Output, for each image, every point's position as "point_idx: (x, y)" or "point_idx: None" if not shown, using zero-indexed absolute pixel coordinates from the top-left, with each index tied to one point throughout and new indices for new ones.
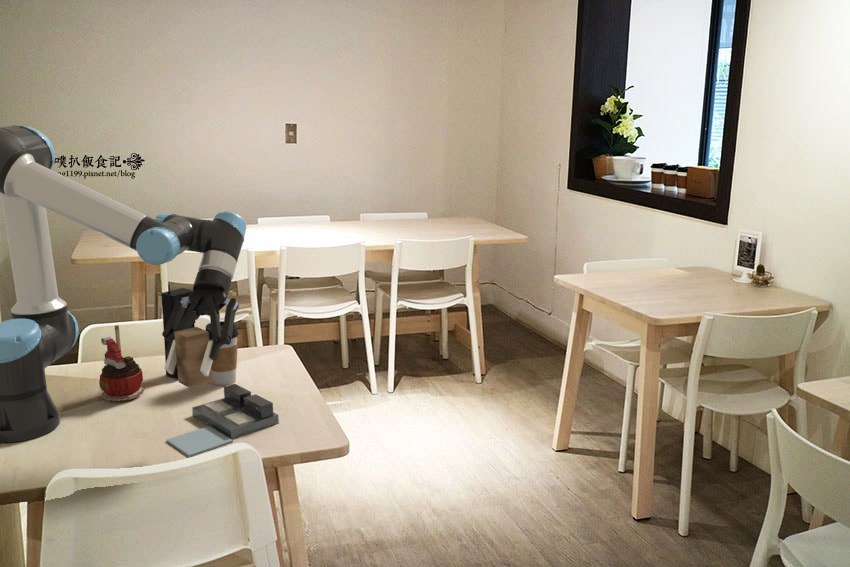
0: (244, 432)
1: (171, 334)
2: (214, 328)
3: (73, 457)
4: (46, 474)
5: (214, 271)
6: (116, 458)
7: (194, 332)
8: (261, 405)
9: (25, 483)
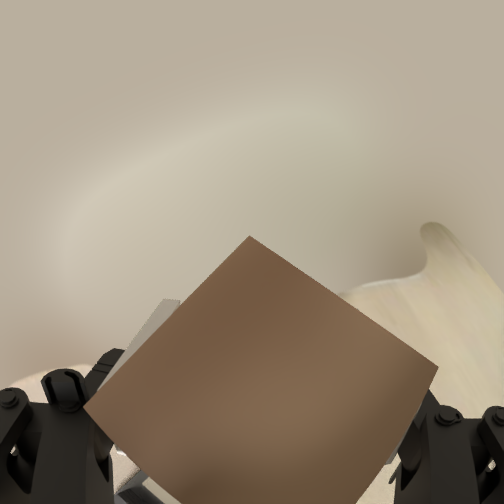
0: None
1: (463, 428)
2: (56, 487)
3: (437, 307)
4: (430, 254)
5: None
6: (375, 318)
7: (225, 387)
8: (118, 499)
9: (433, 231)
